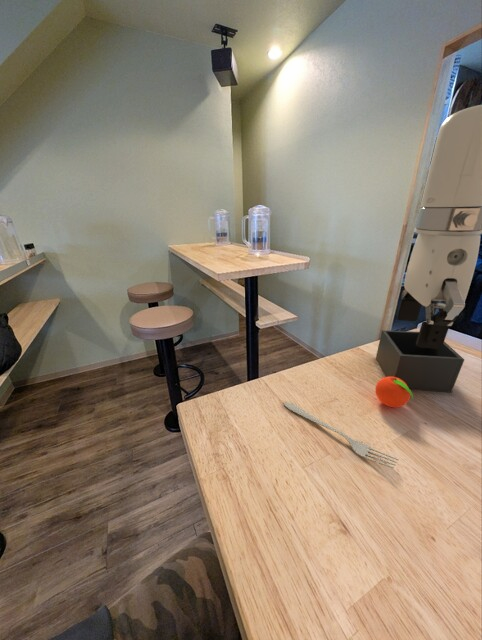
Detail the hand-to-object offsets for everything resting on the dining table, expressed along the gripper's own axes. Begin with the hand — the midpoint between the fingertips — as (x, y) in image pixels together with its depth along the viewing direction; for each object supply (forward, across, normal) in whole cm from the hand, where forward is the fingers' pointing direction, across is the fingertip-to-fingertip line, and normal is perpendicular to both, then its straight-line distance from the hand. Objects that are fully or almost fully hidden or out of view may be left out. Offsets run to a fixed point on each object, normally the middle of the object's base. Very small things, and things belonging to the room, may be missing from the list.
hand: (416, 332), depth 42 cm
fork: (+24, -1, +11) cm, 27 cm away
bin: (+24, +23, -11) cm, 35 cm away
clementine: (+24, +10, -4) cm, 26 cm away
